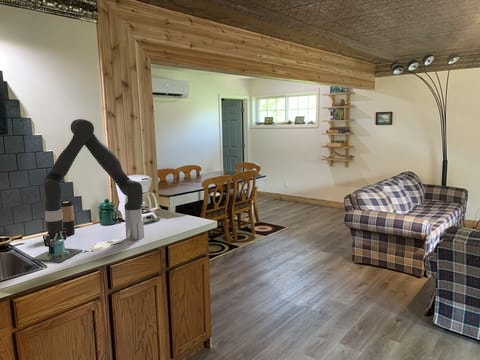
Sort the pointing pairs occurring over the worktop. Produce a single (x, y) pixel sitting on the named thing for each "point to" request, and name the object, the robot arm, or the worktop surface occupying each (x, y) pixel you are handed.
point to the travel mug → (68, 216)
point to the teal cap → (59, 247)
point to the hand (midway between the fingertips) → (56, 251)
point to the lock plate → (57, 259)
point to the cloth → (103, 245)
